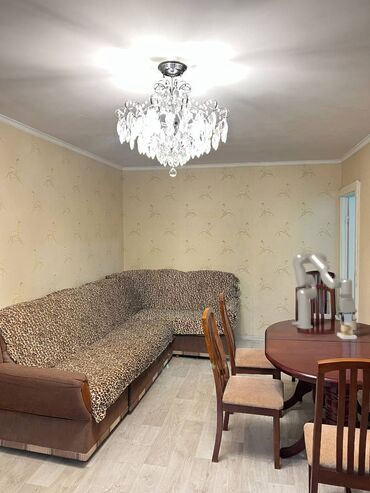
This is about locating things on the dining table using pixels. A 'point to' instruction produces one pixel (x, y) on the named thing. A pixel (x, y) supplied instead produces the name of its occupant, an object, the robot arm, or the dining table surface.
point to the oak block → (346, 330)
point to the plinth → (347, 336)
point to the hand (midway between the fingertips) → (346, 321)
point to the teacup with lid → (351, 323)
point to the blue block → (347, 317)
